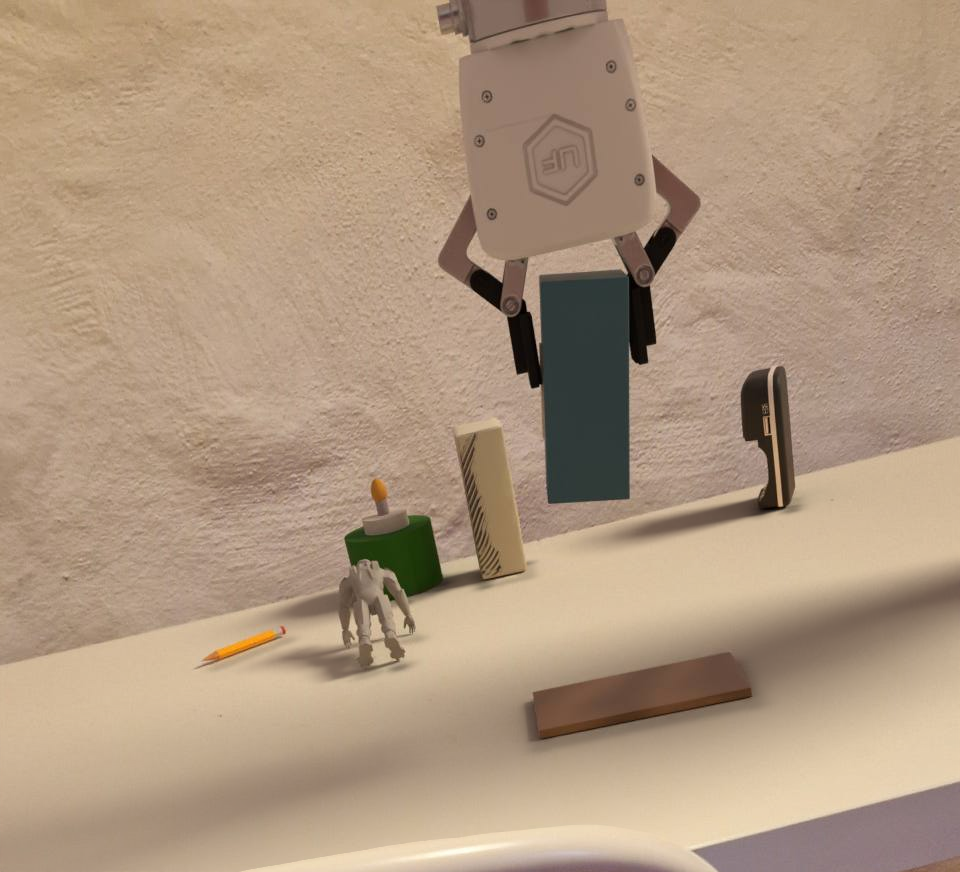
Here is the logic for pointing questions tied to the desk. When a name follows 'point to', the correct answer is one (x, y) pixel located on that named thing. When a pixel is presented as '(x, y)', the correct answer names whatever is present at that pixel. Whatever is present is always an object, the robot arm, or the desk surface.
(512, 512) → the box
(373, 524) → the candle
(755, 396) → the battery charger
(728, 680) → the brown wooden plank
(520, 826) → the desk surface
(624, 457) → the tissue box
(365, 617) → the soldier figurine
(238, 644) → the pencil
